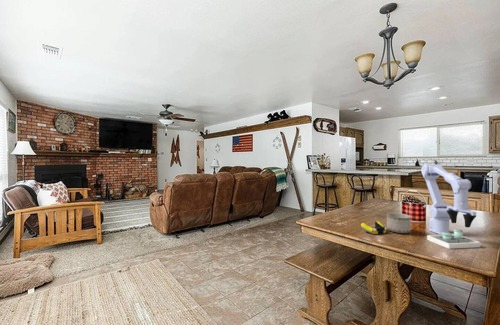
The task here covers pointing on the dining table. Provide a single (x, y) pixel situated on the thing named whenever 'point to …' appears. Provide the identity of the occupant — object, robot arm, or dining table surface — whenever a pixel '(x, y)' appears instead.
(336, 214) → the dining table surface
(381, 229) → the spring clamp
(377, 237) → the dining table surface
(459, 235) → the jaw peg
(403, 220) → the planter
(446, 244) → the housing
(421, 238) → the dining table surface
